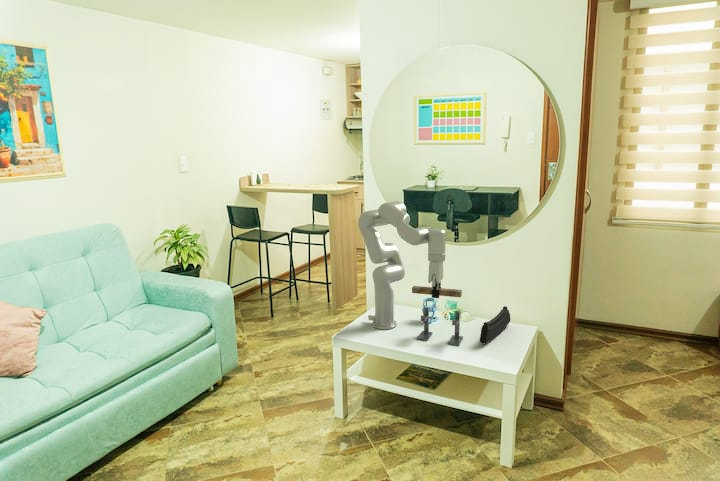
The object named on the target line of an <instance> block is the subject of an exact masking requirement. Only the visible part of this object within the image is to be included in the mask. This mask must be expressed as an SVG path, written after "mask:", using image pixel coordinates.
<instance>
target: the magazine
mask: <svg viewBox="0 0 720 481" xmlns="http://www.w3.org/2000/svg"><path fill="white" fill-rule="evenodd" d="M510 322H511V313H510V310H509V309H508V306H505V305H504V306H503V307H502V309H501V310H500V311H499V312H498V313H497V314H496V316H494V317H492V318H491V319H490V320H489V321H485V322H483V325H482V327H481V330H480V334H479V335H480V337H479V343H481V344H484V345H486V344H488V343H489V342H491V341H493V340H495V339H496V338H497V337H499V335H501V334H502V333H503V331H504V330H505V329H506V328H507V326H508V325H509V324H510Z"/></svg>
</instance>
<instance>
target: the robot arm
mask: <svg viewBox="0 0 720 481" xmlns="http://www.w3.org/2000/svg"><path fill="white" fill-rule="evenodd" d="M410 221H411V217H410V214H408V213H407V207H406V205H405V204H404V203H403V202H402V201H390V202H384V203H382V204H380V206H379V207H378V209H372V210H367V211H364V212H363V213H361V214H360V215H359V217H358V222H357V225H358V226H357V227H358V229H359V232H360V234H361V236H362V238H363V241H364V243H365V246H366V250H367V253H368V257H369V259H370V261H371V263H372V264H375V265H378V264H383V265H379V266H376V267H375V268H374V270H373V272H372V280H373V284H374V315H372V314H368V316H367V318H368V320H369V321H372V323H371V324H372V327H373V328H375V329H378V330H391V329H394V328H396V327H397V326H398V325H397V324H398V323H397V321H396V320H395V319H394V316H395V314H394V313H395V312H394V310H395V309H394V305H395V304H394V303H395V302H394V289H393V288H392V286H391V284H392V283H396V282H399V281H401V280H403V279H404V278H405V275H406V274H405V272H406V271H405V267H404V263H403V260H402V257H401V254H400V252H399V248H398V246H396V244H394V243H392V242H386V243H384V242H383V241H382V240H383V239H382V237H381V235H380V233H379V231H378V230H376V229H375V227H382V226H386V225H391V226H393V227H394V228H395V229H396V231H397V235H398V236H399V238H400V239H402V240H403V241H405V242H406V243H407V244H409V245H411V246H419V245H424V244H427V245H428V246H427V247H428V248H427V255H428V256H427V260H428V261H429V262H428V263H429V264H428V275H427V276H428V278H427V280H428V284H431V287H432V295H431V298H433V299H439V298H440V296H439V289H438V288H442V281H443V278H444V262H446V230H444V229H443V228H442V229H441V228H435V227H433V226H431V225H430V226H429V225H427V226H421V227H416V228H413V227H412V226H409V224H410ZM384 263H387V264H384Z"/></svg>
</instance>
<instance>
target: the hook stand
mask: <svg viewBox="0 0 720 481" xmlns="http://www.w3.org/2000/svg"><path fill="white" fill-rule="evenodd" d="M429 316H430V312H429V307H425V308H424V316H423V314H422V315H420V322H423V323H424V324H423V326H424V327H423V330H422V331H421V332H420V333H419V335H418V336H417V338H416V339H417V340H418V341H425V342H428V341H429V340H430V338H431V337H432V335H433V332H432V331H430V330H429V329H430V326H429V325H430V324H429V321H430V318H429ZM451 322H452V323H451V325H452V326H454V334H452V335H451V337H450V339H449V340H448V342H447V343H448V345H451V346H456V347H457V346H458V347H459V346H460V345H461V343H462V342H463V340H464V336H462V335H460V328H461V325H460V324H461V323H460V322H461V311H460V310H454V319H452V320H451Z"/></svg>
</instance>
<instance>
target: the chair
mask: <svg viewBox="0 0 720 481" xmlns="http://www.w3.org/2000/svg"><path fill="white" fill-rule="evenodd" d="M428 302H432V305H428ZM437 302H438V300H436V298H432V297H426V298H424V299H423V300H422V309H421V311H422V316H424V308H425V307H429V313H432V315H431V316H430V315H429V325H431V324H433V323H434V322H436V321H438V320H439V317H437V316H434V315H435V313H436V311H437V309H438V306H436V304H437ZM433 318H435V319H433ZM432 322H433V323H432Z"/></svg>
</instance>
